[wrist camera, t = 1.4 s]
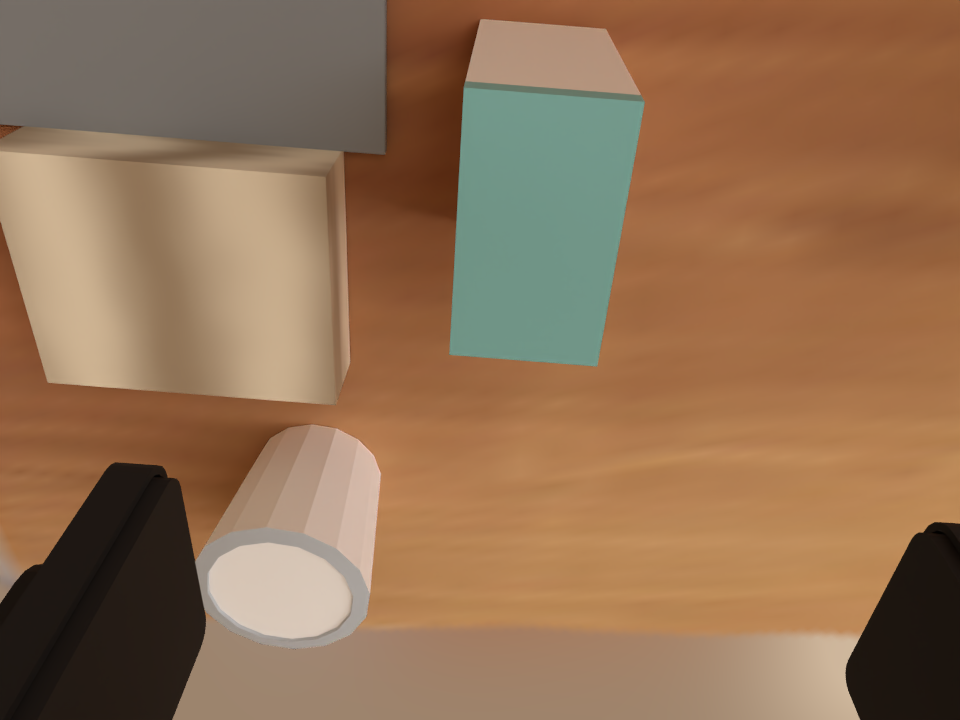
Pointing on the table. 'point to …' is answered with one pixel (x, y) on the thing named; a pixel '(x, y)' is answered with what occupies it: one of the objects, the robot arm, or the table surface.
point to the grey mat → (200, 70)
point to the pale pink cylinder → (296, 542)
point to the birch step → (180, 262)
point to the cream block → (541, 191)
